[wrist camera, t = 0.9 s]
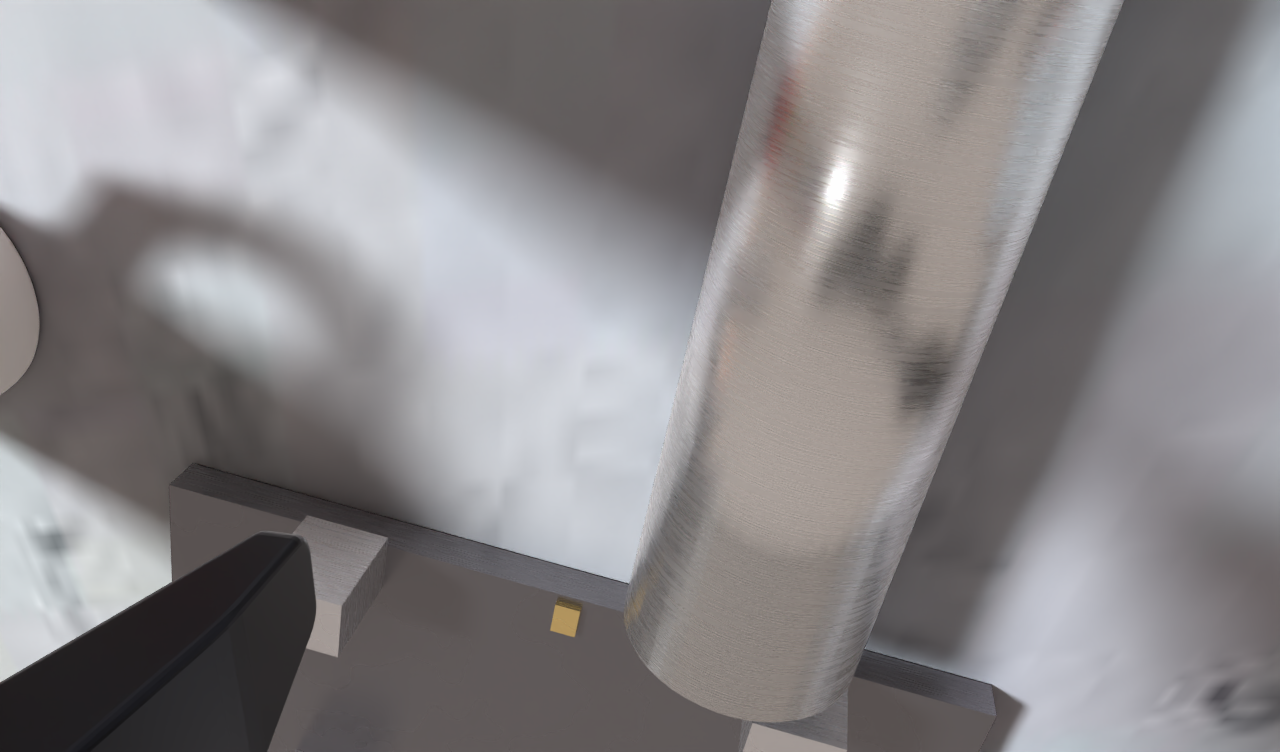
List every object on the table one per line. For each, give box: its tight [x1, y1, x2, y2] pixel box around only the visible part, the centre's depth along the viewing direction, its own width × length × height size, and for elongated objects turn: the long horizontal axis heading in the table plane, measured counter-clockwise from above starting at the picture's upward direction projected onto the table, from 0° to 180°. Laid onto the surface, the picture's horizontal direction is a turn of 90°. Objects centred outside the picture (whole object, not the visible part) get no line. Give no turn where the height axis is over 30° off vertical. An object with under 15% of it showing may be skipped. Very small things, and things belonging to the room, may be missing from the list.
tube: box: [624, 0, 1124, 722], centre depth 18 cm, size 16×5×5 cm, turn 169°
